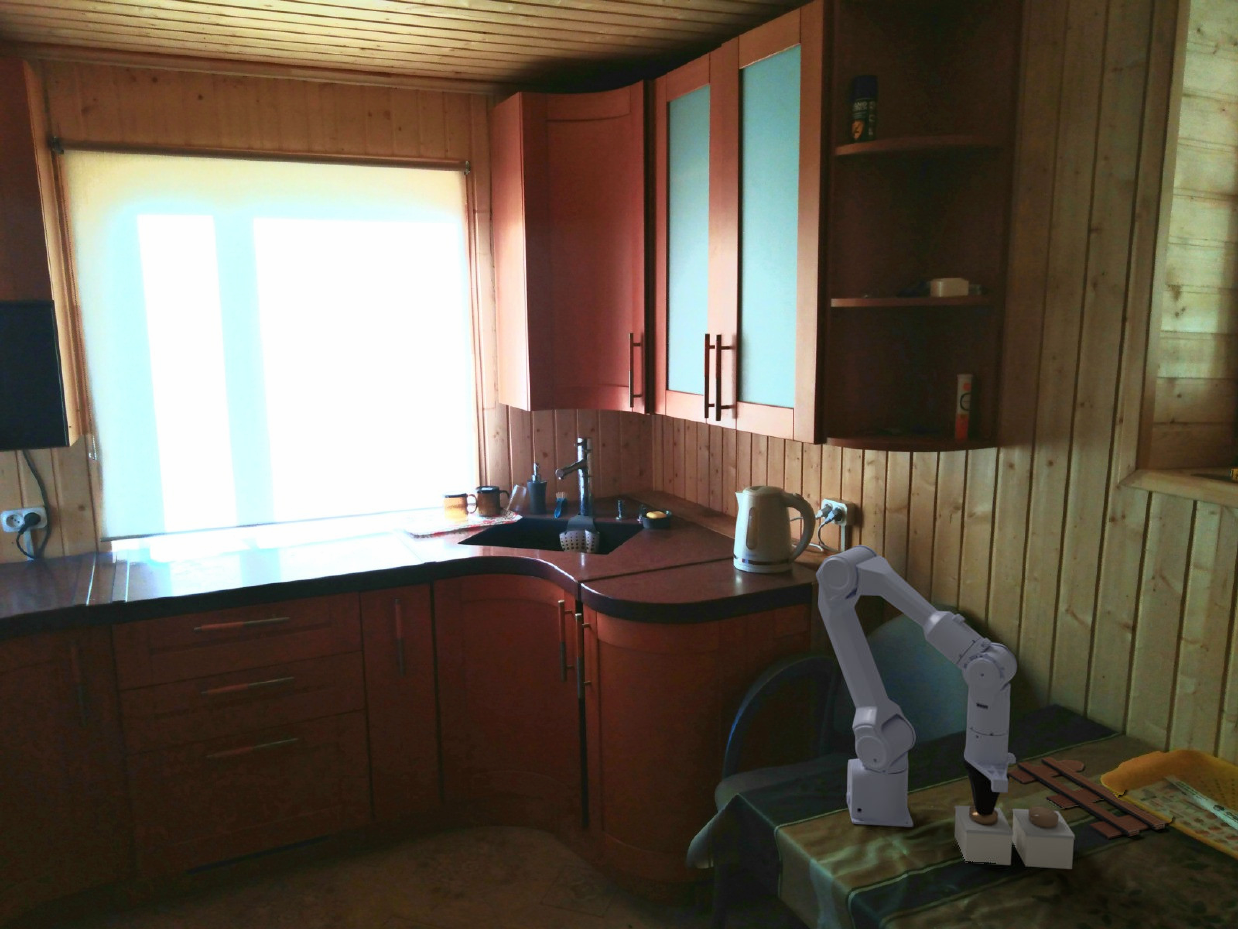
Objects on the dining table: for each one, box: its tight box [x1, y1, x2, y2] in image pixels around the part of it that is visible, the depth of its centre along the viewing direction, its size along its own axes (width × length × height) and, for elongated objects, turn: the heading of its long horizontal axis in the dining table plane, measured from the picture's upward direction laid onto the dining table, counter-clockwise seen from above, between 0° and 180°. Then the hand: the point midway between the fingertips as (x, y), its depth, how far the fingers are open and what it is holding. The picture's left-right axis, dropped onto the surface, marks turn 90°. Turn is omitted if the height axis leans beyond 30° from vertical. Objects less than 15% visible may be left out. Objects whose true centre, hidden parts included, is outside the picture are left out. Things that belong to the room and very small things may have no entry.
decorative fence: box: [1007, 756, 1168, 840], centre depth 143 cm, size 23×2×15 cm
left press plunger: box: [969, 804, 998, 825], centre depth 128 cm, size 4×4×6 cm
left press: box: [954, 805, 1013, 866], centre depth 129 cm, size 7×8×5 cm
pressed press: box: [1012, 806, 1076, 870], centre depth 128 cm, size 7×8×7 cm
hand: (983, 812), depth 128 cm, fingers closed, pressing on left press plunger
